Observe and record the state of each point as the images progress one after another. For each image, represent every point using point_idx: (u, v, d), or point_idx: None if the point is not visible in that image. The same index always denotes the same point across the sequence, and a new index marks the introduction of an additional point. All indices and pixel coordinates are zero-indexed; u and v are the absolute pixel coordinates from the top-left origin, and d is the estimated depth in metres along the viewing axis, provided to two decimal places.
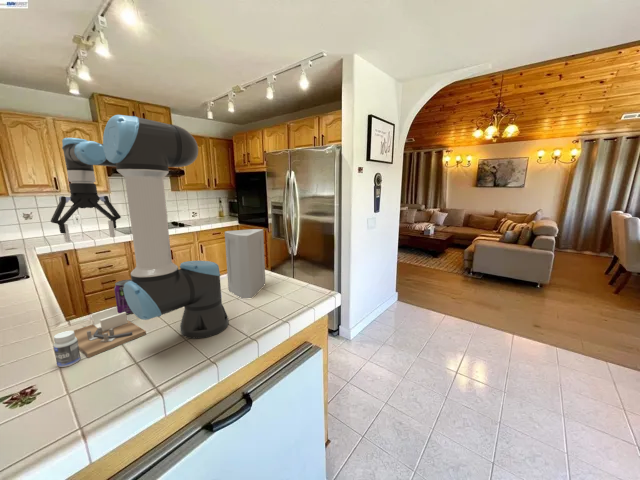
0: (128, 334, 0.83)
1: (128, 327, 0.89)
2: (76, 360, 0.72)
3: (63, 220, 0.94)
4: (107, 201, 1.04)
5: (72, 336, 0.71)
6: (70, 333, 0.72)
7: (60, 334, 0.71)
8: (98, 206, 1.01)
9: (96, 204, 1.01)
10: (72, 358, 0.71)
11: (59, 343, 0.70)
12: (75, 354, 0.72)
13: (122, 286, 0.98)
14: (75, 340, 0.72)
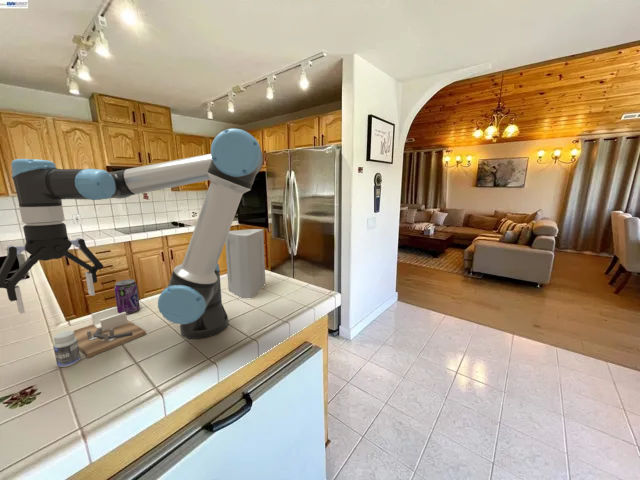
0: (128, 334, 0.83)
1: (128, 327, 0.89)
2: (76, 360, 0.72)
3: (12, 282, 0.62)
4: (83, 246, 0.72)
5: (72, 336, 0.71)
6: (70, 333, 0.72)
7: (60, 334, 0.71)
8: (69, 255, 0.70)
9: (66, 253, 0.69)
10: (72, 358, 0.71)
11: (59, 343, 0.70)
12: (75, 354, 0.72)
13: (122, 286, 0.98)
14: (75, 340, 0.72)
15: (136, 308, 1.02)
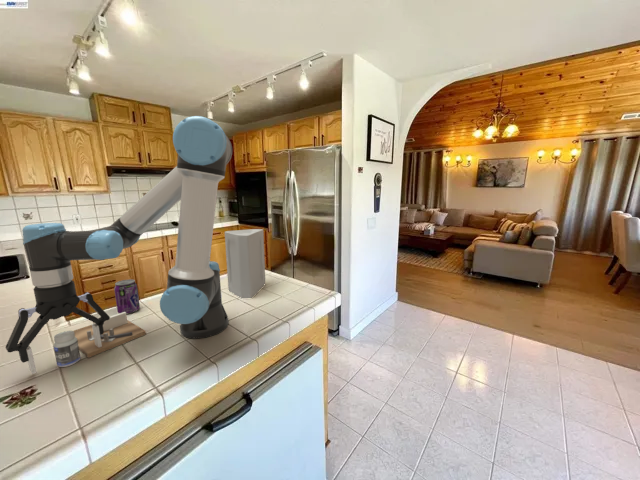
0: (128, 334, 0.83)
1: (128, 327, 0.89)
2: (76, 360, 0.72)
3: (24, 344, 0.64)
4: (91, 301, 0.74)
5: (72, 336, 0.71)
6: (70, 333, 0.72)
7: (60, 334, 0.71)
8: (77, 312, 0.72)
9: (74, 309, 0.71)
10: (72, 358, 0.71)
11: (59, 343, 0.70)
12: (75, 354, 0.72)
13: (122, 286, 0.98)
14: (75, 340, 0.72)
15: (136, 308, 1.02)
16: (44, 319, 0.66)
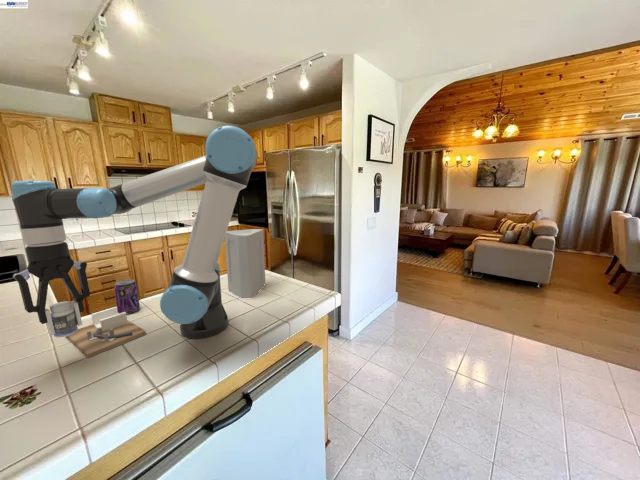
0: (128, 334, 0.83)
1: (128, 327, 0.89)
2: (73, 331, 0.71)
3: (41, 306, 0.66)
4: (82, 270, 0.72)
5: (68, 306, 0.70)
6: (66, 303, 0.70)
7: (56, 304, 0.70)
8: (66, 277, 0.69)
9: (65, 274, 0.69)
10: (69, 329, 0.70)
11: (55, 313, 0.68)
12: (72, 325, 0.71)
13: (122, 286, 0.98)
14: (72, 310, 0.71)
15: (136, 308, 1.02)
16: (43, 281, 0.65)
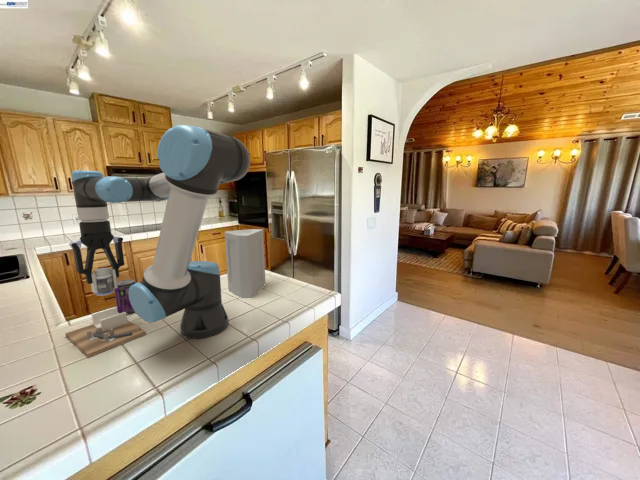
0: (128, 334, 0.83)
1: (128, 327, 0.89)
2: (111, 291, 0.89)
3: (89, 269, 0.84)
4: (119, 243, 0.90)
5: (108, 271, 0.88)
6: (106, 269, 0.88)
7: (99, 269, 0.87)
8: (108, 248, 0.87)
9: (107, 246, 0.86)
10: (108, 289, 0.88)
11: (98, 275, 0.86)
12: (110, 286, 0.88)
13: (122, 286, 0.98)
14: (110, 275, 0.88)
15: None
16: (92, 249, 0.83)
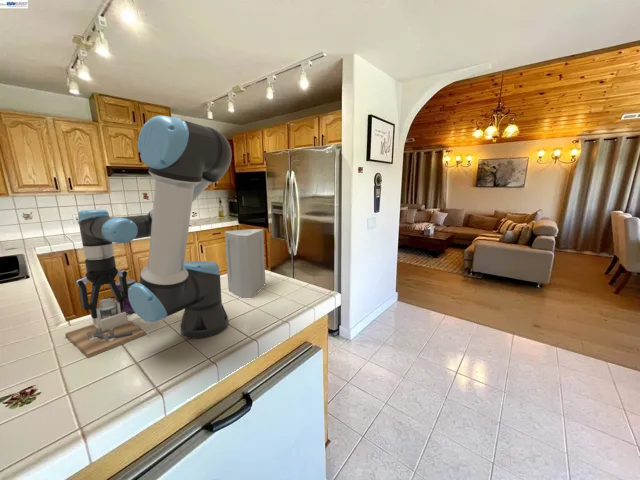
0: (128, 334, 0.83)
1: (128, 327, 0.89)
2: None
3: (94, 305, 0.86)
4: (124, 277, 0.92)
5: (112, 302, 0.90)
6: (111, 300, 0.90)
7: (103, 300, 0.89)
8: (112, 283, 0.89)
9: (112, 281, 0.89)
10: None
11: (103, 307, 0.88)
12: None
13: None
14: (114, 305, 0.90)
15: None
16: (97, 285, 0.85)
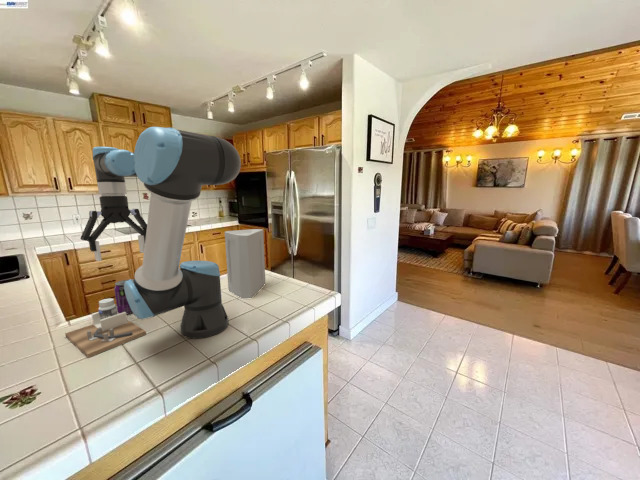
0: (128, 334, 0.83)
1: (128, 327, 0.89)
2: None
3: (94, 237, 0.85)
4: (138, 214, 0.96)
5: (112, 302, 0.90)
6: (111, 300, 0.90)
7: (103, 300, 0.89)
8: (129, 220, 0.93)
9: (127, 218, 0.92)
10: None
11: (103, 307, 0.88)
12: None
13: (122, 286, 0.98)
14: (114, 305, 0.90)
15: None
16: (107, 220, 0.87)
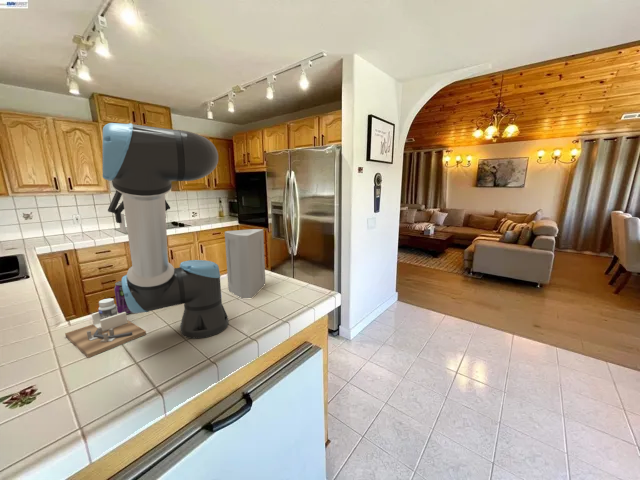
0: (128, 334, 0.83)
1: (128, 327, 0.89)
2: None
3: (120, 209, 0.93)
4: None
5: (112, 302, 0.90)
6: (111, 300, 0.90)
7: (103, 300, 0.89)
8: None
9: None
10: None
11: (103, 307, 0.88)
12: None
13: None
14: (114, 305, 0.90)
15: None
16: None
